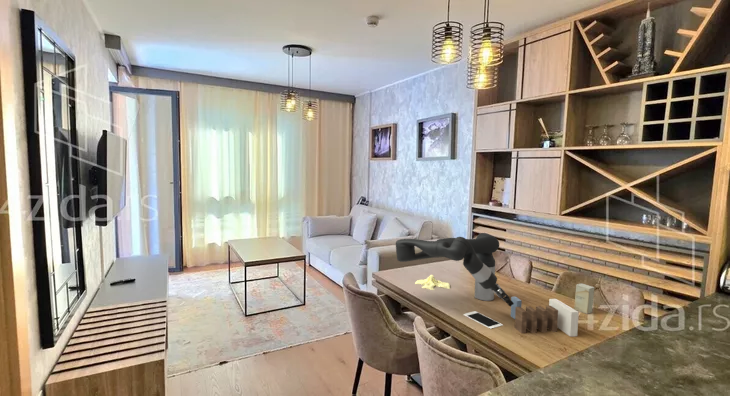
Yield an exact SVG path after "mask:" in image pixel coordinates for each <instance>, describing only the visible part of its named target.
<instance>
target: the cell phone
mask: <svg viewBox="0 0 730 396" xmlns="http://www.w3.org/2000/svg"><path fill="white" fill-rule="evenodd" d="M462 315H463V316H464V317H467V318H469V319H470V320H472V321H474V322H476V323H478V324H480V325H482V326H484V327H486V328H488V329H489V328H490V330H492V328H493V329H495V328H498V327H501V326H502V327H503V326H504V324H502V323H501V322H499V321H496V320H495V319H492V318H491V317H488V316H487V315H484V314H483V313H480V312H478V311H475V310H474V311H469V312H465V313H463V314H462Z"/></svg>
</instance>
